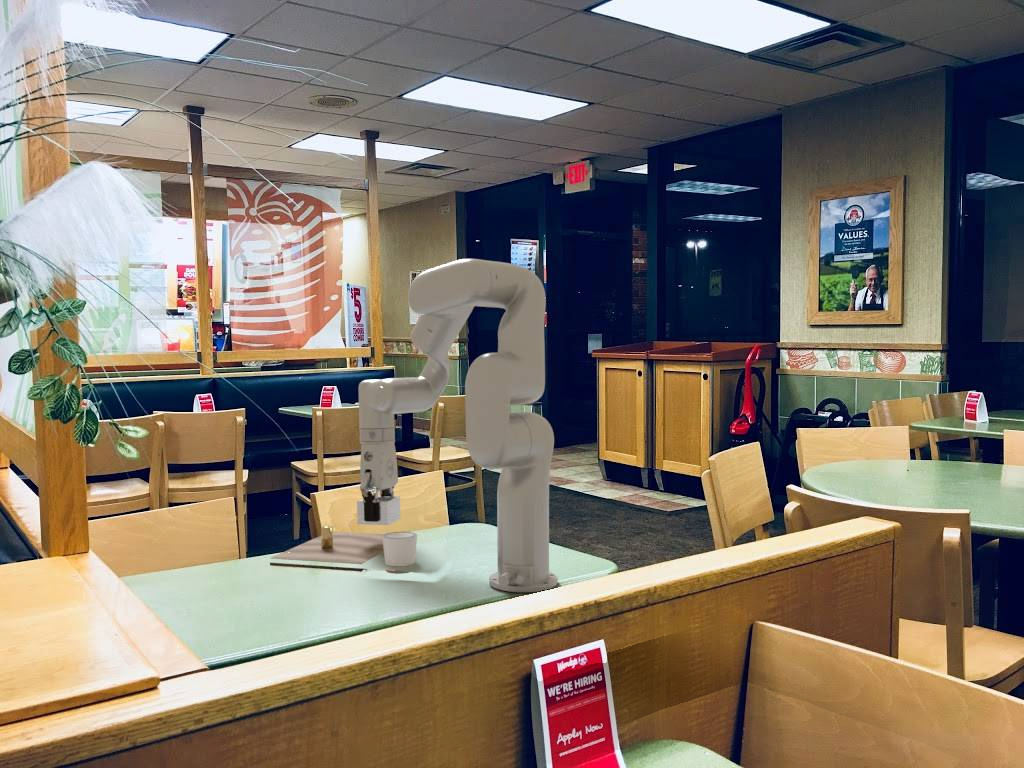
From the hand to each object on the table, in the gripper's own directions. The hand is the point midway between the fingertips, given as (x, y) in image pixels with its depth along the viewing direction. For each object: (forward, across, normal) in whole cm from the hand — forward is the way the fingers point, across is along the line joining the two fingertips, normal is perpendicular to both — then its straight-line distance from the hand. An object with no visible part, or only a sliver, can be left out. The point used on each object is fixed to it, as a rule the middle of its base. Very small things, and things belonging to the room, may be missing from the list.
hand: (379, 517), depth 172 cm
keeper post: (+6, -6, +10) cm, 13 cm away
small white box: (+1, 0, 0) cm, 1 cm away
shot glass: (+8, -14, -10) cm, 19 cm away
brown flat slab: (+7, -4, +7) cm, 11 cm away
